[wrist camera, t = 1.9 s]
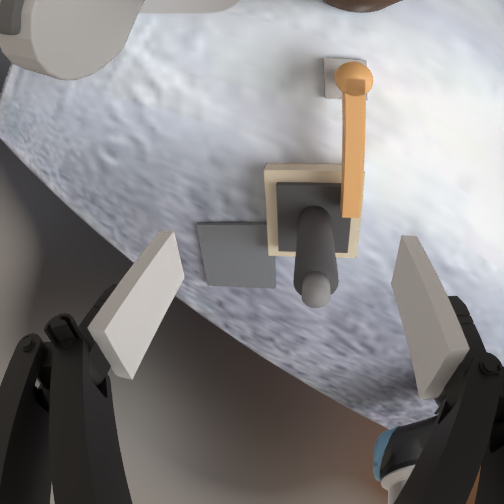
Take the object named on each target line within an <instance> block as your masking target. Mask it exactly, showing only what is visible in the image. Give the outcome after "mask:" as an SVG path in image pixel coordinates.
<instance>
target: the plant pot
mask: <svg viewBox="0 0 504 504" xmlns="http://www.w3.org/2000/svg"><path fill="white" fill-rule="evenodd" d="M324 1H325V2H327V3H328V4H330V5H332V6H334V7H336V8H339V9H342V10H346V11H352V12H361V13H363V12H373V11H378V10H381V9H383V8H385V7H387V6H389V5H392V4H394V3H397V2H399V1H402V0H324Z"/></svg>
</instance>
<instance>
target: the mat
mask: <svg viewBox="0 0 504 504" xmlns="http://www.w3.org/2000/svg"><path fill="white" fill-rule="evenodd" d="M196 226H197V232H198V237H199V243H200V248H201V254H202V259H203V264H204V269H205V274H206V279H207V284H208V285H213V286H231V287H252V288H276V274H275V256H269V254H268V235H267V223H255V222H198V223H197V225H196Z"/></svg>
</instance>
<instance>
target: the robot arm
mask: <svg viewBox="0 0 504 504" xmlns="http://www.w3.org/2000/svg"><path fill="white" fill-rule="evenodd" d="M183 279H184V273H183V269H182V264H181V260H180V256H179V252H178V247H177V243H176V238H175V234H174V231H159V233H158V234H157V235H156V236H155V238H154V239H153V240H152V241H151V243H150V244H149V245H148V246H147V248H146V249H145V250H144V251H143V253H142V254H141V255H140V256H139V258H138V259H137V260H136V262H135V263H134V264H133V266H132V267H131V268H130V269H129V271H128V272H127V273H126V275H125V276H124V277H123V279H122V280H121V281H120V283H119V284H117V285H116V284H113V285H112V286H110V287H109V288H108V289H106V290H105V291H104V292H103V294H102V295H101V296H100V298H99V299H98V301H97V302H96V303H95V304H94V307H93V308H91V310H90V311H89V313H88V314H87V315H86V317H85V318H84V319H83V321H82V322H81V324H80V325H79V327H78V326H77V324H76V322H75V320H74V318H73V317H72V316H71V315H70V314H59V315H57V316H55V317H54V318H52V319H51V320H50V321H49V322H48V323H47V324H46V326H45V328H44V331H45V333H46V334H47V336H48V337H49V339H50V340H51V342H43V341H42V339H41V338H40V336H39V335H37V334H34V333H33V334H28V335H26V336H25V337H23V338H22V339H21V340H20V341H19V343H18V344H17V346H16V349H15V351H14V354H13V356H12V358H11V360H10V363H9V365H8V368H7V370H6V373H5V375H4V378H3V380H2V383H1V386H0V504H50V494H51V484H52V485H53V493H54V501H55V504H132V500H131V496H130V492H129V489H128V484H127V480H126V476H125V471H124V467H123V462H122V457H121V452H120V447H119V441H118V435H117V429H116V423H115V416H114V409H113V401H112V392H111V383H110V378H109V376H108V374H107V373H108V371H109V369H110V367H111V368H112V370H113V371H114V373H115V374H116V376H119V377H123V378H128V379H131V380H132V379H133V377H134V375H135V373H136V371H137V369H138V367H139V365H140V363H141V361H142V359H143V357H144V354H145V352H146V351H147V349H148V347H149V344H150V343H151V340H152V338H153V337H154V335H155V333H156V331H157V329H158V327H159V325H160V323H161V321H162V319H163V317H164V315H165V313H166V311H167V309H168V307H169V305H170V304H171V302H172V300H173V298H174V296H175V294H176V292H177V290H178V288H179V287H180V285H181V283H182V281H183ZM391 285H392V289H393V292H394V295H395V299H396V302H397V306H398V309H399V313H400V316H401V320H402V324H403V327H404V331H405V335H406V339H407V343H408V347H409V351H410V356H411V360H412V364H413V369H414V374H415V379H416V384H417V389H418V394H419V399H420V400H422V399H430V398H433V399H434V400H435V402H436V403H437V405H438V407H439V408H438V409H437V410H436V412H435V413H434V414H436V415H437V414H438V412H439V414H438V415H437V416H434V417H431V418H428V419H425V420H422V421H419V422H415V423H412V424H409V425H405V426H402V427H401V426H398V427H396V428H394V429H391V430H387V431H384V432H383V433H382V434H380V435H379V437H378V439H377V441H376V444H375V449H374V457H373V462H374V466H373V469H374V476H375V479H376V480H377V481H381V485H382V487H383V488H385V489H386V490H388V504H466V502H467V499H468V497H469V495H470V492H471V490H472V487H473V485H474V482H475V480H476V477H477V475H478V472H479V469H480V466H481V470H480V478H479V483H478V489H477V494H476V499H475V504H504V367H503V366H502V364H501V362H500V361H499V359H498V358H497V357H496V356H494V355H492V354H491V353H487V352H486V350H485V347H484V345H483V343H482V340H481V338H480V335H479V333H478V331H477V329H476V326H475V324H473V320H472V318H471V316H470V313H469V311H468V309H467V307H466V305H465V304H464V303H463V302H462V301H461V300H460V299H459V298H458V297H457V296H447V294H446V292H445V290H444V288H443V286H442V284H441V282H440V280H439V277H438V275H437V273H436V272H435V270H434V268H433V266H432V264H431V262H430V260H429V258H428V256H427V254H426V252H425V251H424V249H423V247H422V245H421V243H420V242H419V240H418V238H417V236H404V235H401V240H400V245H399V250H398V255H397V260H396V265H395V269H394V273H393V278H392V282H391ZM36 379H37V380H38V381H39V382H40V386H39V388H37V387H36V386H35V382H36Z"/></svg>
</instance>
